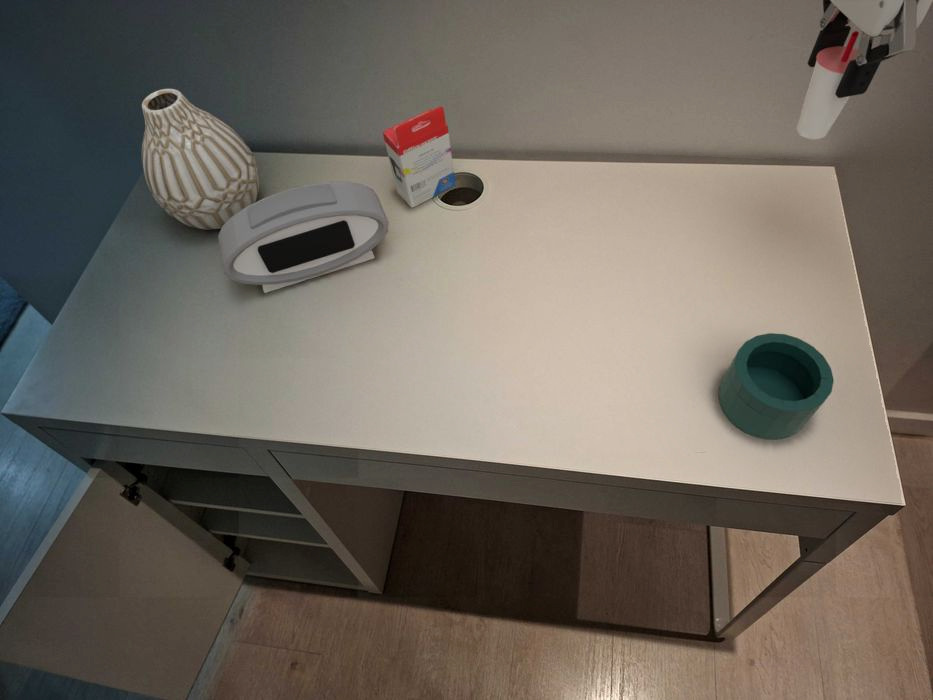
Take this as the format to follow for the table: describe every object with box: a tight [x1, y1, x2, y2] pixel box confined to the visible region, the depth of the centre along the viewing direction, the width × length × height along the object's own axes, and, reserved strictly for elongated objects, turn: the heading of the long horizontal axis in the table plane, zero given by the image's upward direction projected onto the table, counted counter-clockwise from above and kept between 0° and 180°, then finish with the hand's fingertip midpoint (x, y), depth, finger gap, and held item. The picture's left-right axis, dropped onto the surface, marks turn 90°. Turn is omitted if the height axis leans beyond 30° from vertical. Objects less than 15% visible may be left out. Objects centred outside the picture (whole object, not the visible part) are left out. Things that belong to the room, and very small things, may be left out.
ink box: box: [382, 105, 456, 209], centre depth 89 cm, size 8×5×15 cm, turn 123°
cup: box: [796, 30, 860, 140], centre depth 67 cm, size 5×5×12 cm
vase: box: [141, 88, 260, 231], centre depth 89 cm, size 16×16×20 cm
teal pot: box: [718, 332, 835, 440], centre depth 67 cm, size 10×10×7 cm
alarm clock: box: [217, 181, 389, 294], centre depth 83 cm, size 23×6×13 cm, turn 110°
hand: (835, 77), depth 66 cm, fingers closed on cup, 5 cm apart
